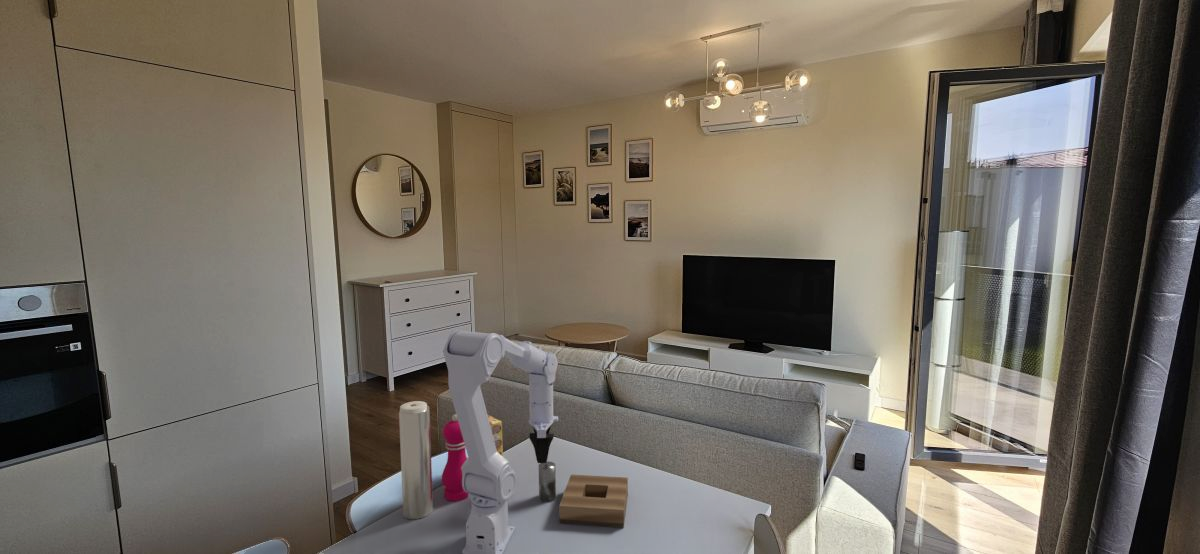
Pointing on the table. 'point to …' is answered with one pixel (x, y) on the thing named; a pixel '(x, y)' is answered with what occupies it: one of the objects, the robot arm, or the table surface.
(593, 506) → the bore block
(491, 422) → the candy box
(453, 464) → the pepper mill
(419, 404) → the silver cream cylinder
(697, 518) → the table surface
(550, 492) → the pin
